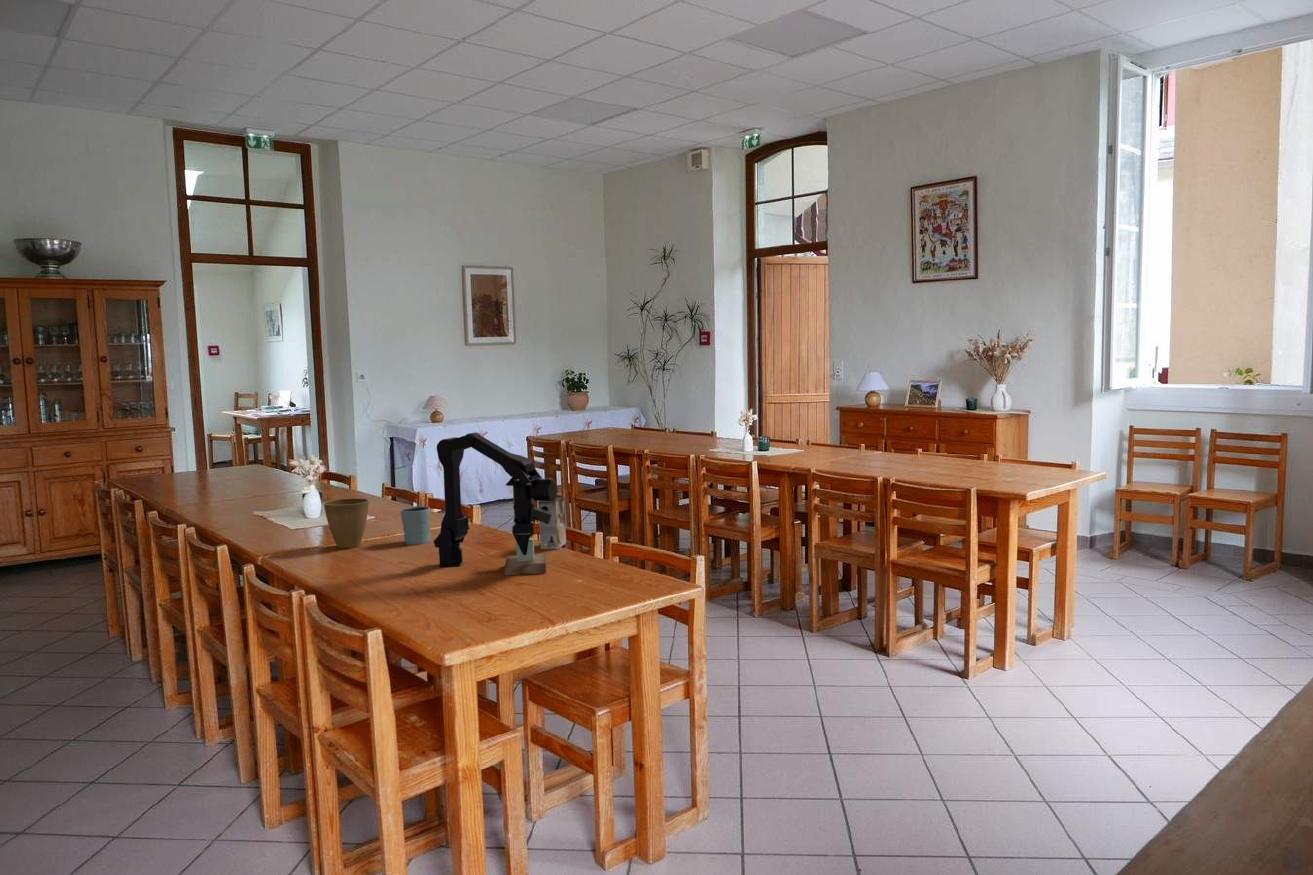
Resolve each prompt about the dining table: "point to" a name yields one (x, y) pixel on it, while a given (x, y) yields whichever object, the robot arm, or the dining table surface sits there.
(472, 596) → the dining table surface
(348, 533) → the plant pot
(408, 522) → the blue-grey cup
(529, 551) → the sage block
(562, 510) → the coffee box
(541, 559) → the grayish brown panel
